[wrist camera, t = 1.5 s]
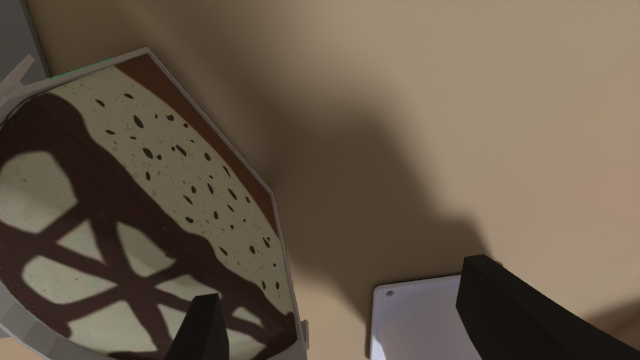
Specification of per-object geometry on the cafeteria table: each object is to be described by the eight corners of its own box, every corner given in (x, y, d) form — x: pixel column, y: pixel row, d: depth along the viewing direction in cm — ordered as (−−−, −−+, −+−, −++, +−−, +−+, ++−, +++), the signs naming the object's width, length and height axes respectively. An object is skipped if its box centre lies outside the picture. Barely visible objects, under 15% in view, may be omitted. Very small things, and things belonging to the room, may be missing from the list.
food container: (13, 99, 17) (-221, 236, 9) (120, 15, 16) (-21, 75, 8) (203, 266, 23) (177, 446, 15) (289, 211, 22) (316, 368, 14)
